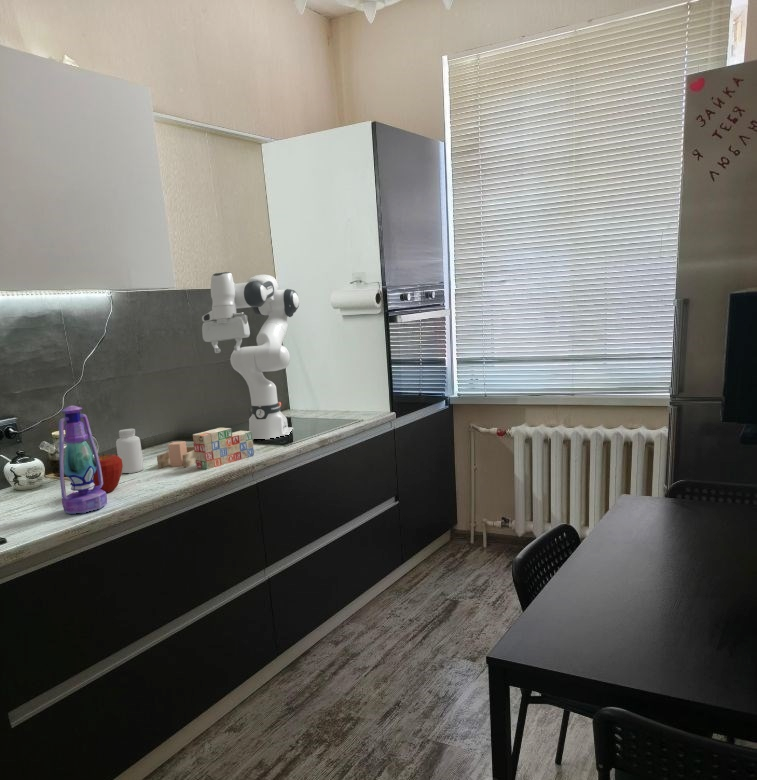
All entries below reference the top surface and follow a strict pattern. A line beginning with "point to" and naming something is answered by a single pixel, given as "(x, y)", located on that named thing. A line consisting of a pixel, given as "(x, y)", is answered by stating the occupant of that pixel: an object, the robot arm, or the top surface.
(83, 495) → the lantern
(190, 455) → the oak u-shaped frame
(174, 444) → the terracotta block
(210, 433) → the stack of blocks
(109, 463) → the apple
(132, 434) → the pill bottle
